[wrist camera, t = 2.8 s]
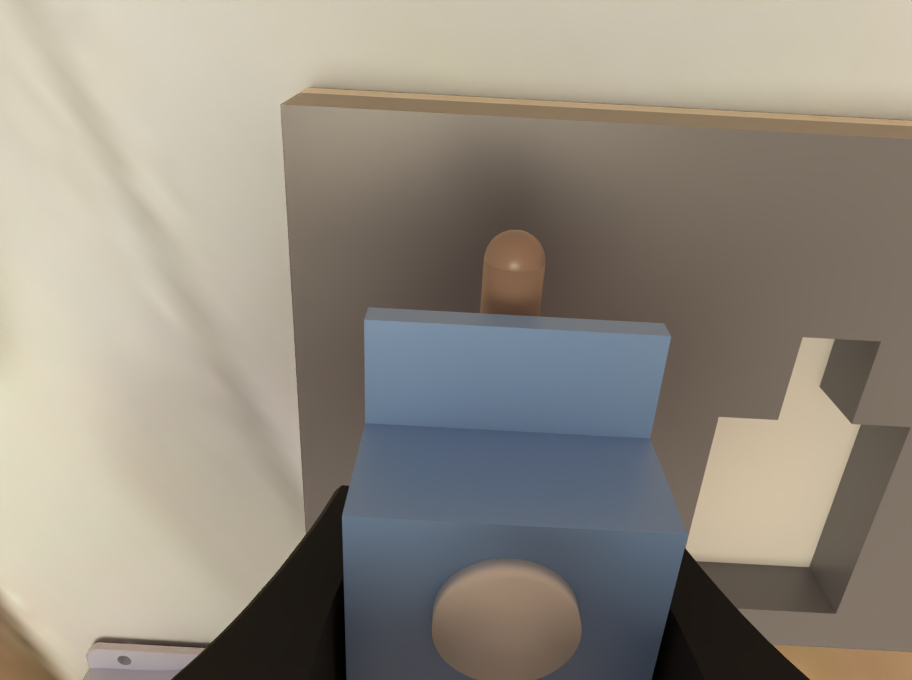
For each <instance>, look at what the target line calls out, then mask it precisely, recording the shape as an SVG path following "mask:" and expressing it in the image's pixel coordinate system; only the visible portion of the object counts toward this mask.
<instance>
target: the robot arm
mask: <svg viewBox="0 0 912 680" xmlns="http://www.w3.org/2000/svg"><path fill="white" fill-rule="evenodd" d="M348 490H349V486H347V485H341V486H340V487H339V488H338V489H336V490H335V492H334V493H333V495H332V497H331V498H330V500H329V502H328V503H327V505H326V506H325V508H324V509H323V511H322V512H321V514H320V515H319V517H318V518H317V520H316V521H315V523H314V524H313V525H312V527H311V528H310V530H309V531H308V532H307V534H306V535H305V537H304V538H303V539H302V541H301V542H300V543H299V544H298V546H297V547H296V548H295V550H294V551H293V552H292V553H291V555H290V556H289V557H288V559H287V560H286V561H285V562H284V564H283V565H282V566H281V568H280V569H279V570H278V571H277V572H276V574H275V575H274V576H273V577H272V578H271V579H270V581H269V582H268V583H267V584H266V585H265V586H264V587H263V589H262V590H261V591H260V592H259V593H258V594H257V595H256V597H255V598H254V599H253V600H252V601H251V602H250V603H249V605H248V606H247V607H246V608H245V609H244V610H243V611H242V612H241V613H240V614H239V615H238V616H237V617H236V618H235V620H234V621H233V622H232V623H231V624H230V625H229V626H228V627H227V628H226V629H225V630H224V631H223V632H222V633H221V634H220V635H219V636H218V637H217V638H216V639H215V640H214V641H213V642H211V643H210V644H209V645H208V646H207V647H206V648H195V647H176V646H158V645H139V644H121V643H103V642H101V643H95V644H93V645H92V646H91V647H90V649H89V650H88V652H87V654H86V658H87V661H88V665H89V670H88V672H87V673H86V675H85V677H84V679H83V680H346V644H345V609H344V573H343V537H342V514H343V510H344V506H345V502H346V498H347V494H348ZM652 680H810V679H809V678H807V677H806V676H805V675H804V674H803V673H802V672H801V671H800V670H799V669H798V668H796V667H795V666H794V665H793V664H792V663H791V662H790V661H789V660H788V659H786V658H785V657H784V656H783V655H782V654H781V653H780V652H779V651H778V650H777V649H776V648H775V647H774V646H773V645H772V644H771V643H770V642H769V641H768V640H767V639H766V638H765V637H764V636H763V635H762V634H761V633H760V632H759V631H758V630H757V629H756V628H755V627H754V626H753V625H752V624H751V623H750V622H749V621H748V620H747V619H746V618H745V616H744V615H743V614H742V613H741V612H740V611H739V610H738V609H737V608H736V607H735V606H734V605H733V603H732V602H731V601H730V600H729V599H728V598H727V597H726V596H725V594H724V593H723V592H722V591H721V590H720V589H719V587H718V586H717V585H716V584H715V583H714V582H713V581H712V579H711V578H710V577H709V576H708V575H707V574H706V573H705V571H704V570H703V569H702V568H701V567H700V565H699V564H698V563H697V562H696V561H695V559H694V558H693V557H692V556H691V554H690V553H689V552H688V551H687V550H686V548H685V549H684V553H683V557H682V561H681V565H680V569H679V573H678V577H677V581H676V585H675V589H674V593H673V597H672V601H671V605H670V608H669V612H668V616H667V620H666V624H665V628H664V632H663V636H662V640H661V644H660V648H659V652H658V656H657V660H656V664H655V668H654V672H653V676H652Z"/></svg>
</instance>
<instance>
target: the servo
mask: <svg viewBox="0 0 912 680" xmlns="http://www.w3.org/2000/svg"><path fill="white" fill-rule="evenodd" d="M544 273H545V252H544V249H543V247H542V245H541V243H540V242H539V241H538V239H537V238H535V237H534V236H533V235H532V234H530V233H528V232H526V231H523V230H508V231H505V232H502V233H500V234H498V235H497V236H495V237H494V238H493V239H492V240H491V242H490V243H489V245H488V246H487V248H486V251H485V255H484V264H483V278H482V292H481V306H480V313H465V312H447V311H428V310H410V309H392V308H373V307H368V310H367V313H366V316H365V319H364V354H365V426H364V430H363V434H362V438H361V442H360V446H359V450H358V454H357V458H356V462H355V466H354V470H353V474H352V478H351V482H350V486H349V490H348V494H347V498H346V502H345V506H344V510H343V514H342V537H343V573H344V609H345V644H346V680H652V676H653V672H654V668H655V664H656V660H657V656H658V652H659V648H660V644H661V640H662V636H663V632H664V628H665V624H666V620H667V616H668V612H669V608H670V605H671V601H672V597H673V593H674V589H675V585H676V581H677V577H678V573H679V569H680V565H681V561H682V557H683V553H684V549H685V545H686V541H687V537H688V533H687V531H686V528H685V525H684V523H683V520H682V518H681V515H680V513H679V510H678V508H677V505H676V503H675V500H674V498H673V495H672V493H671V490H670V488H669V485H668V482H667V480H666V477H665V475H664V472H663V470H662V467H661V465H660V462H659V460H658V457H657V455H656V452H655V450H654V447H653V445H652V442H651V439H650V437H651V432H652V428H653V423H654V418H655V413H656V408H657V403H658V398H659V393H660V389H661V384H662V379H663V374H664V369H665V364H666V359H667V355H668V350H669V345H670V340H671V335H670V333H669V331H668V330H667V328H666V326H665V324H664V323H650V322H631V321H613V320H594V319H576V318H557V317H540V308H541V299H542V291H543V282H544Z"/></svg>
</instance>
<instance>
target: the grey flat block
mask: <svg viewBox="0 0 912 680" xmlns="http://www.w3.org/2000/svg"><path fill="white" fill-rule="evenodd" d="M281 121H282V138H283V154H284V171H285V188H286V205H287V222H288V239H289V256H290V273H291V290H292V307H293V324H294V341H295V358H296V374H297V391H298V408H299V425H300V442H301V459H302V476H303V493H304V510H305V527H306V534H307V532H308V531H309V530H310V528H311V527H312V525H313V524H314V523H315V521H316V520H317V518H318V517H319V515H320V514H321V512H322V511H323V509H324V508H325V506H326V505H327V503H328V502H329V500H330V498H331V497H332V495H333V493H334V492H335V490H336V489H338V488H339V487H340V486H341V485H347V486H350V482H351V478H352V474H353V470H354V466H355V462H356V458H357V454H358V450H359V446H360V442H361V438H362V434H363V430H364V426H365V354H364V319H365V316H366V313H367V310H368V307H373V308H392V309H410V310H428V311H447V312H465V313H480V306H481V292H482V278H483V264H484V255H485V251H486V248H487V246H488V245H489V243H490V242H491V240H492V239H493V238H494V237H495V236H497V235H498V234H500V233H502V232H505V231H508V230H523V231H526V232H528V233H530V234H532V235H533V236H534V237H535V238H537V239H538V241H539V242H540V243H541V245H542V247H543V249H544V252H545V273H544V282H543V291H542V299H541V308H540V317H557V318H576V319H594V320H613V321H631V322H650V323H664V324H665V326H666V328H667V330H668V331H669V333H670V335H671V340H670V345H669V350H668V355H667V359H666V364H665V369H664V374H663V379H662V384H661V389H660V393H659V398H658V403H657V408H656V413H655V418H654V423H653V428H652V432H651V437H650V439H651V442H652V445H653V447H654V450H655V452H656V455H657V457H658V460H659V462H660V465H661V467H662V470H663V472H664V475H665V477H666V480H667V482H668V485H669V488H670V490H671V493H672V495H673V498H674V500H675V503H676V505H677V508H678V510H679V513H680V515H681V518H682V520H683V523H684V525H685V528H686V531H687V533H688V537H687V541H686V545H685V548H686V550H687V551H688V552H689V553H690V554H691V556H692V557H693V558H694V559H695V561H696V562H697V563H698V564H699V565H700V567H701V568H702V569H703V570H704V571H705V573H706V574H707V575H708V576H709V577H710V578H711V579H712V581H713V582H714V583H715V584H716V585H717V586H718V587H719V589H720V590H721V591H722V592H723V593H724V594H725V596H726V597H727V598H728V599H729V600H730V601H731V602H732V603H733V605H734V606H735V607H736V608H737V609H738V610H739V611H740V612H741V613H742V614H743V615H744V616H745V618H746V619H747V620H748V621H749V622H750V623H751V624H752V625H753V626H754V627H755V628H756V629H757V630H758V631H759V632H760V633H761V634H762V635H763V636H764V637H765V638H766V639H767V640H768V641H769V642H770V643H771V644H772V645H790V646H808V647H827V648H845V649H864V650H882V651H900V652H912V121H908V120H890V119H872V118H854V117H836V116H817V115H799V114H781V113H763V112H745V111H726V110H708V109H690V108H672V107H653V106H635V105H617V104H599V103H581V102H562V101H544V100H526V99H508V98H490V97H471V96H453V95H435V94H417V93H398V92H380V91H362V90H344V89H326V88H307V89H306V90H304V91H302V92H301V93H299V94H297V95H296V96H294V97H292V98H291V99H289V100H287V101H286V102H284V103H282V104H281Z"/></svg>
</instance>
